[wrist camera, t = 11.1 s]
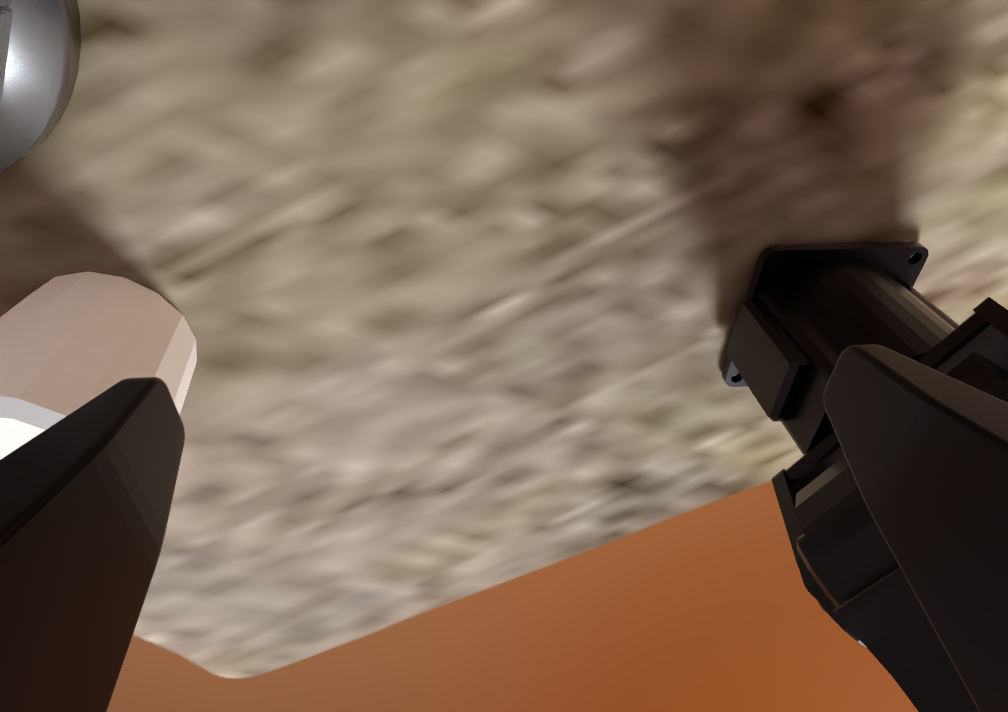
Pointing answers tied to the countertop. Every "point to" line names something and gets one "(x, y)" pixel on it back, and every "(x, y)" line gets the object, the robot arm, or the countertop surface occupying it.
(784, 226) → the countertop surface
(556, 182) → the countertop surface
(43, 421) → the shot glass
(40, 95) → the collar
